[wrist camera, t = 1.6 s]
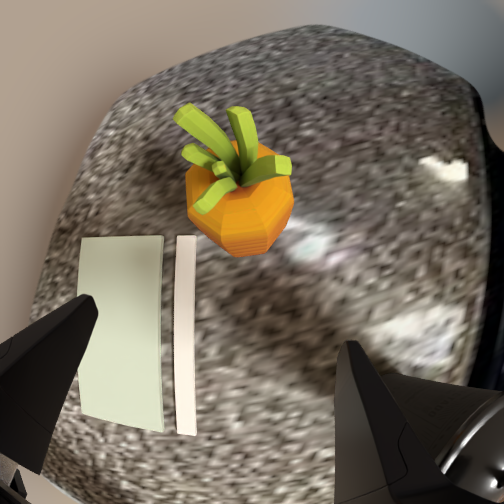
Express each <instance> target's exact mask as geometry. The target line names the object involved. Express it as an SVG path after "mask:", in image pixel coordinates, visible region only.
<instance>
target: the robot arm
mask: <svg viewBox="0 0 504 504" xmlns="http://www.w3.org/2000/svg"><path fill="white" fill-rule="evenodd" d="M97 318H98V309H97V306H96V303H95V301H94V298H93V297H92V296H91V295H88V294H81V295H79V296H78V297H76V298H74V299H72V300H71V301H69V302H67V303H66V304H64V305H62V306H61V307H59V308H57V309H56V310H54V311H52V312H51V313H49V314H47V315H46V316H44V317H43V318H41V319H39V320H38V321H36V322H34V323H33V324H31V325H30V326H28V327H26V328H25V329H23V330H22V331H20V332H19V333H17V334H15V335H14V336H13V337H11V338H9V339H8V340H6V341H5V342H3V343H1V344H0V504H31V503H30V502H28V501H27V500H26V496H27V492H26V490H25V487H24V484H23V481H22V478H21V475H20V471H19V470H18V469H17V466H18V464H19V465H21V466H23V467H25V468H27V469H29V470H30V471H32V472H34V473H36V474H38V475H40V473H41V470H42V466H43V463H44V459H45V456H46V453H47V450H48V447H49V443H50V440H51V437H52V434H53V431H54V428H55V425H56V423H57V420H58V417H59V414H60V412H61V409H62V406H63V404H64V401H65V399H66V396H67V394H68V391H69V389H70V386H71V384H72V381H73V379H74V377H75V374H76V372H77V370H78V367H79V365H80V363H81V361H82V358H83V356H84V354H85V351H86V349H87V346H88V344H89V341H90V338H91V335H92V332H93V329H94V327H95V324H96V321H97ZM334 411H335V493H334V504H504V502H502V503H497V502H493V501H491V500H488V499H486V498H483V497H481V496H478V495H476V494H474V493H471V492H469V491H467V490H465V489H463V488H460V487H458V486H456V485H455V484H453V483H452V482H451V481H450V480H449V479H448V478H447V477H446V476H445V475H444V474H443V472H442V471H441V469H440V468H439V467H438V465H437V464H436V463H435V461H434V460H433V459H432V457H431V456H430V455H429V453H428V452H427V451H426V449H425V448H424V446H423V445H422V443H421V442H420V441H419V439H418V437H417V436H416V434H415V433H414V431H413V429H412V428H411V426H410V424H409V423H408V422H406V421H407V419H406V418H405V416H404V414H403V413H402V411H401V409H400V408H399V406H398V404H397V403H396V401H395V399H394V398H393V396H392V395H391V393H390V391H389V390H388V388H387V386H386V385H385V383H384V382H383V380H382V378H381V377H380V375H379V374H378V372H377V370H376V369H375V367H374V366H373V364H372V362H371V361H370V359H369V358H368V356H367V355H366V353H365V351H364V350H363V348H362V347H361V345H360V344H359V342H358V341H356V340H345V341H344V343H343V345H342V348H341V350H340V352H339V354H338V357H337V369H336V384H335V397H334Z"/></svg>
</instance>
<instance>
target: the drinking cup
mask: <svg viewBox="0 0 504 504" xmlns="http://www.w3.org/2000/svg"><path fill="white" fill-rule="evenodd" d="M381 378H382V380H383V382H384V383H385V385H386V386H387V388H388V390H389V391H390V393H391V395H392V396H393V398H394V399H395V401H396V403H397V404H398V406H399V408H400V409H401V411H402V413H403V414H404V416H405V418H406V419H407V421H406V422H408V423H409V424H410V426H411V428H412V429H413V431H414V433H415V434H416V436H417V437H418V439H419V441H420V442H421V443H422V445H423V446H424V448H425V449H426V451H427V452H428V453H429V455H430V456H431V457H432V459H433V460H434V461H435V463H436V464H437V465H438V467H439V468H440V469H441V471H442V472H443V474H444V475H445V476H446V477H447V478H448V479H449V480H450V481H451V482H452V483H453V484H455V485H456V486H458V487H460V488H463V489H465V490H467V491H469V492H471V493H474V494H476V495H478V496H481V497H483V498H486V499H488V500H491V501H493V502H497V503H498V502H499V501H500V500H501V499H502V498H503V497H504V391H502V392H501V391H493V390H485V389H478V388H471V387H465V386H459V385H453V384H447V383H441V382H436V381H431V380H425V379H420V378H415V377H411V376H406V375H401V374H396V373H390V374H386V375H383V376H381Z"/></svg>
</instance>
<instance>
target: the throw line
mask: <svg viewBox="0 0 504 504" xmlns="http://www.w3.org/2000/svg"><path fill="white" fill-rule="evenodd" d="M196 243H197V236H196V235H185V236H177V248H176V267H175V295H174V373H175V400H176V418H177V433H178V434H185V435H193V436H196V434H197V428H196V405H195V365H194V309H195V268H196Z"/></svg>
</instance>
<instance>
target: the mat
mask: <svg viewBox="0 0 504 504" xmlns="http://www.w3.org/2000/svg"><path fill="white" fill-rule="evenodd" d="M163 247H164V237H163V236H162V235H155V236H119V237H90V238H82V242H81V250H80V260H79V272H78V287H77V297H78V296H79V295H81V294H88V295H91V296H92V297H93V298H94V301H95V303H96V306H97V309H98V318H97V321H96V324H95V327H94V329H93V332H92V335H91V338H90V341H89V344H88V346H87V349H86V351H85V354H84V356H83V358H82V361H81V363H80V365H79V367H78V379H79V390H80V400H81V408H82V414H85V415H89V416H92V417H96V418H99V419H103V420H107V421H111V422H115V423H119V424H123V425H127V426H132V427H137V428H142V429H147V430H152V431H158V432H163V431H164V417H163V401H162V380H161V285H162V263H163Z"/></svg>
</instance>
